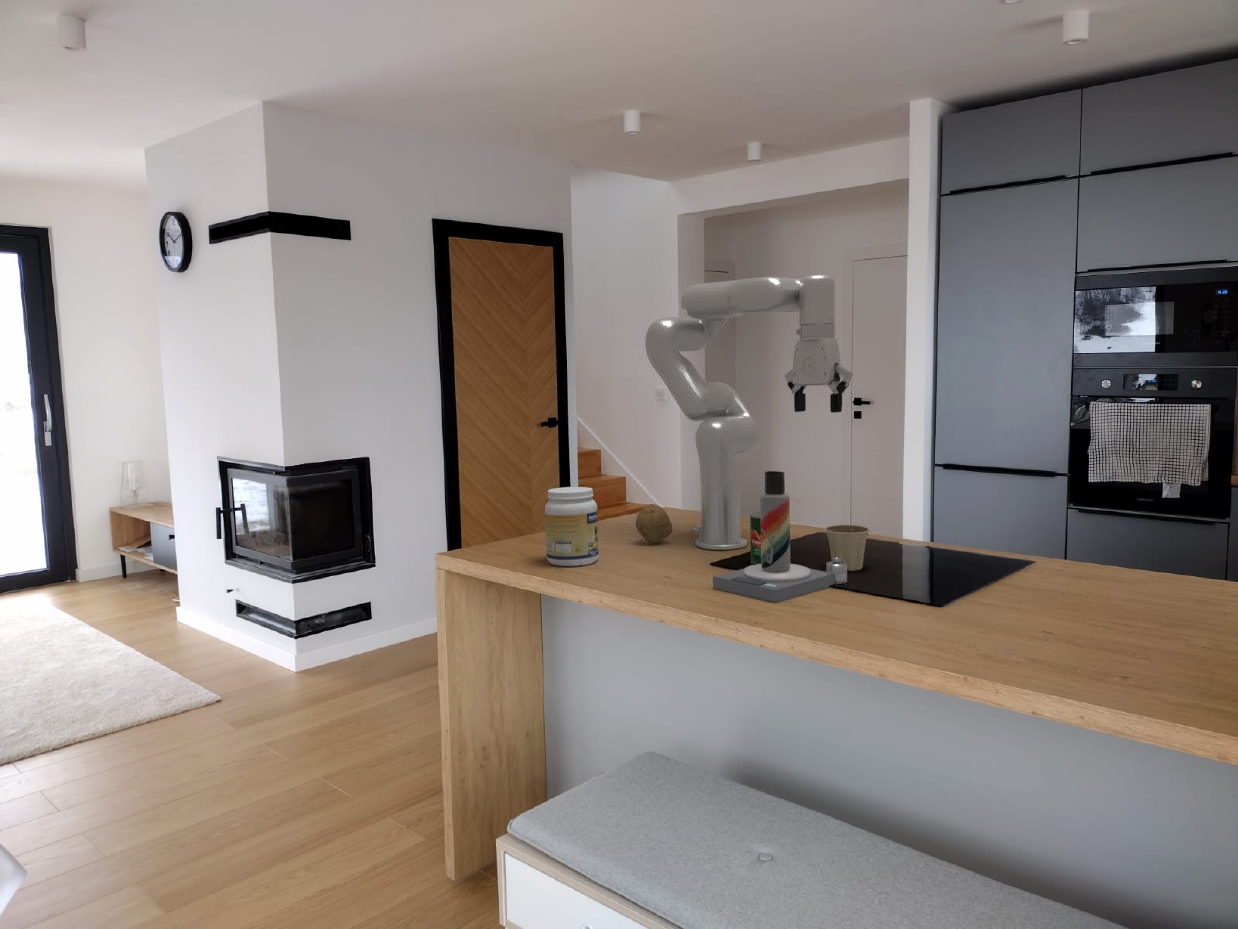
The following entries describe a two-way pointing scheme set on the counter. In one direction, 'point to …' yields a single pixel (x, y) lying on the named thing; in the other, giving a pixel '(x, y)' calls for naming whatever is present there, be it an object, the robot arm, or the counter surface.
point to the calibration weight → (837, 569)
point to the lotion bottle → (775, 524)
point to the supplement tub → (571, 526)
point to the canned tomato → (755, 537)
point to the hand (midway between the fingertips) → (817, 411)
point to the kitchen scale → (773, 582)
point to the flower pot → (848, 544)
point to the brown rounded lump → (653, 523)
